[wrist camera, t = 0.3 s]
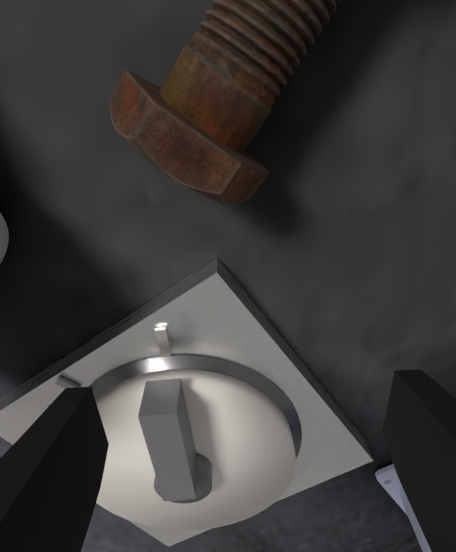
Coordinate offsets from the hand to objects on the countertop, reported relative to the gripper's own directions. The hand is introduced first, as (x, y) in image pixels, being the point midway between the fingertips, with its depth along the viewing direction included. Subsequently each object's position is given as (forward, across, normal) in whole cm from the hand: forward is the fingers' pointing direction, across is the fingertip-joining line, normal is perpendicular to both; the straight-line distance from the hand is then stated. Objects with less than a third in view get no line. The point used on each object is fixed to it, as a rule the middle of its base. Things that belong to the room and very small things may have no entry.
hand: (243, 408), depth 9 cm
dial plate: (+10, +3, +12) cm, 15 cm away
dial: (+8, +3, +11) cm, 14 cm away
